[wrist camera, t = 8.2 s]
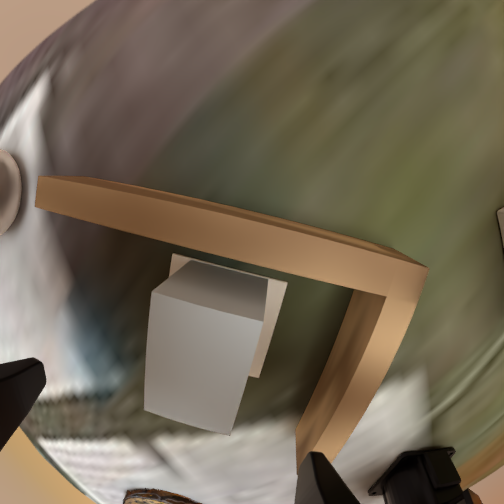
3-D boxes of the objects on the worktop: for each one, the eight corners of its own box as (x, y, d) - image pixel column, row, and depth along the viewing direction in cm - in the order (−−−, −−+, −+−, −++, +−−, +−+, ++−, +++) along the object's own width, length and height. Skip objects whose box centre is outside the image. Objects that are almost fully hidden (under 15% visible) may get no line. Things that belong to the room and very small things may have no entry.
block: (268, 279, 14) (263, 321, 10) (242, 374, 16) (230, 436, 11) (191, 259, 15) (151, 291, 10) (176, 356, 16) (143, 409, 11)
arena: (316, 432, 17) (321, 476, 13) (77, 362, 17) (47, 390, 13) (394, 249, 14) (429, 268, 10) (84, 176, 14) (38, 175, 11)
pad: (259, 376, 16) (258, 377, 16) (160, 348, 16) (159, 350, 16) (287, 281, 15) (287, 282, 14) (173, 252, 15) (172, 253, 15)
